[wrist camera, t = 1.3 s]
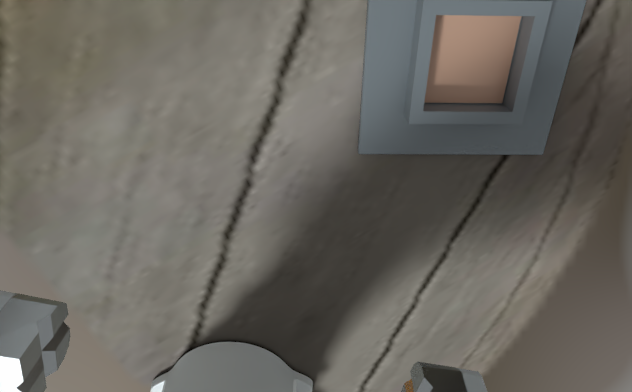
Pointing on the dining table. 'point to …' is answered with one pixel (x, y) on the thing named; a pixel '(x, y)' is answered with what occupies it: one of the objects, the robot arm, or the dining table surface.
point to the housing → (464, 75)
